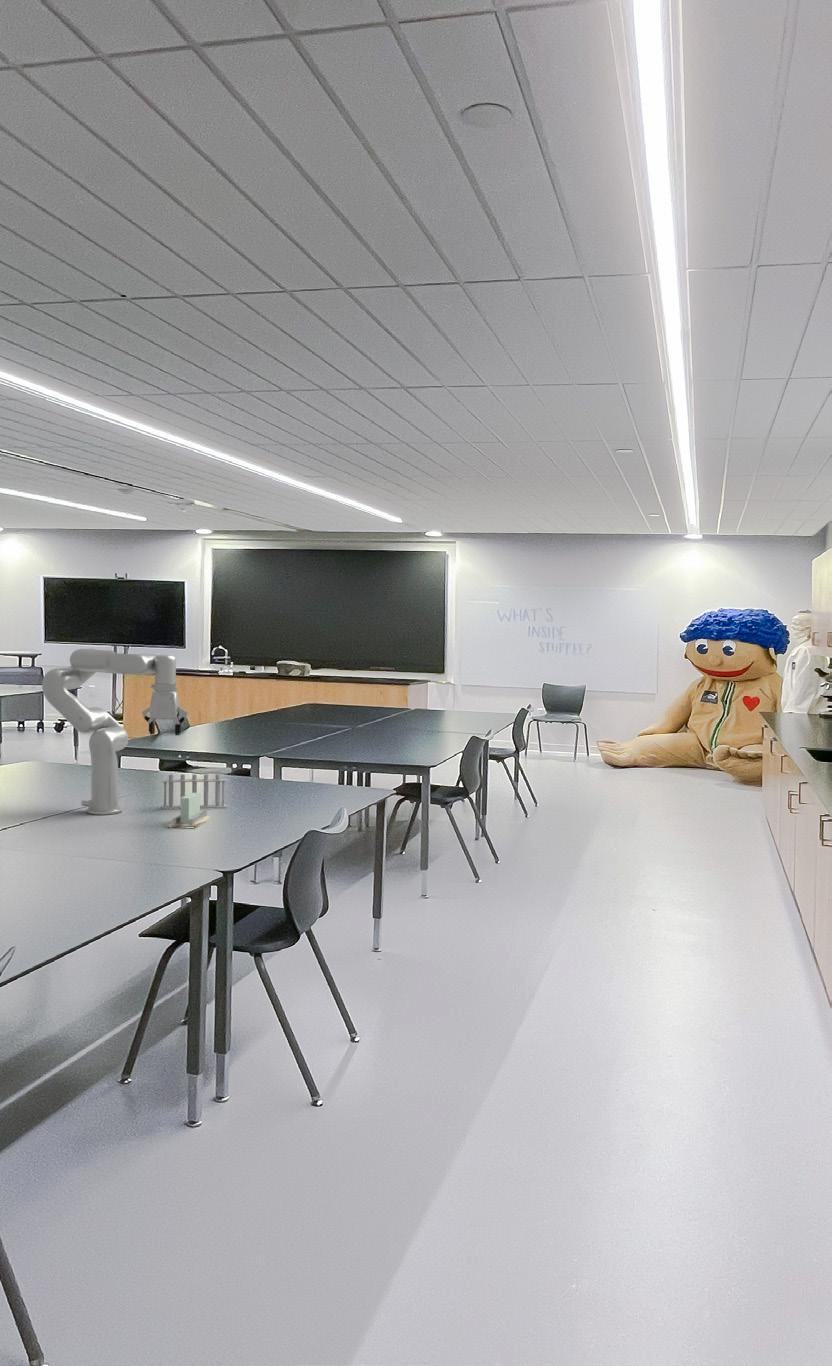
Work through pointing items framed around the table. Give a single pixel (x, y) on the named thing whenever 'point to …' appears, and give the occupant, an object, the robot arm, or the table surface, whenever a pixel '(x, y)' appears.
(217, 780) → the test tube rack
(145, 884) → the table surface
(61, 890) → the table surface
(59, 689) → the robot arm
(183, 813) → the door panel
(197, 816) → the bottom track
